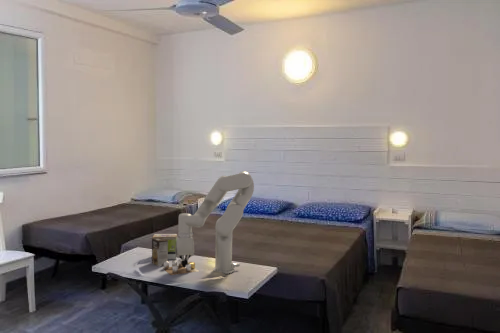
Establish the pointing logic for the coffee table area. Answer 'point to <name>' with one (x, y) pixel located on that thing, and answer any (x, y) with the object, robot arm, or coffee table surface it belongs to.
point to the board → (180, 270)
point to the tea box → (169, 243)
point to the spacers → (176, 266)
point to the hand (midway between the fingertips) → (184, 266)
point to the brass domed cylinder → (192, 265)
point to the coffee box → (159, 251)
